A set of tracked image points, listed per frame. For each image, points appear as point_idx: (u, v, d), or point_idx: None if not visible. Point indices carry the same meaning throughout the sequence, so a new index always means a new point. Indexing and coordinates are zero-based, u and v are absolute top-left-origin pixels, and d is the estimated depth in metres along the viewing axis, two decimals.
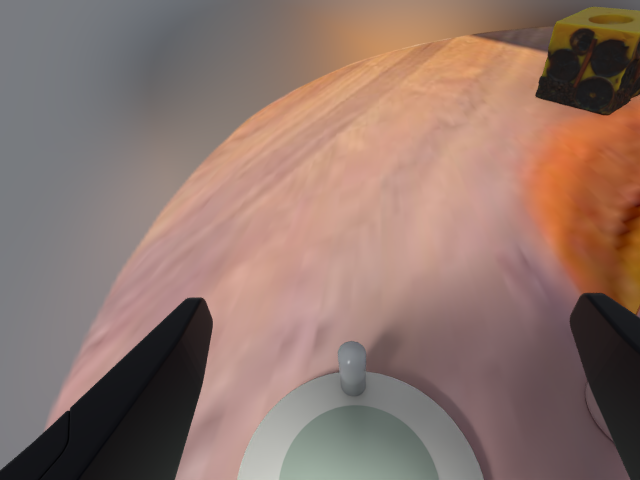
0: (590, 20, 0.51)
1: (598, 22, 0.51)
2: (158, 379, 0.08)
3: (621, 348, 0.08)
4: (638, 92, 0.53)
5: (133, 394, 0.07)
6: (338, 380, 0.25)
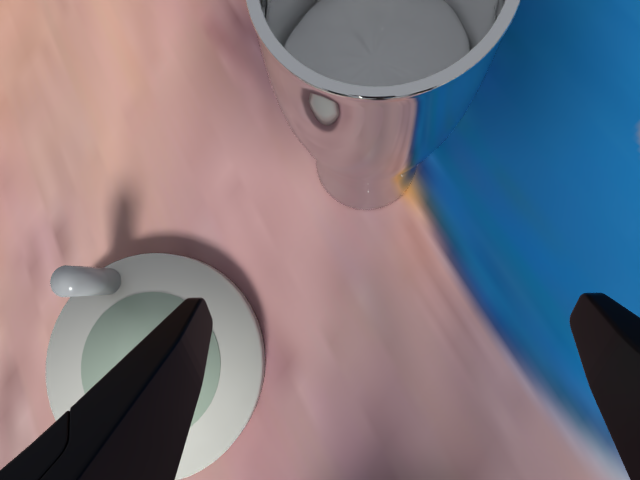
0: None
1: None
2: (158, 379, 0.08)
3: (621, 348, 0.08)
4: None
5: (133, 394, 0.07)
6: None
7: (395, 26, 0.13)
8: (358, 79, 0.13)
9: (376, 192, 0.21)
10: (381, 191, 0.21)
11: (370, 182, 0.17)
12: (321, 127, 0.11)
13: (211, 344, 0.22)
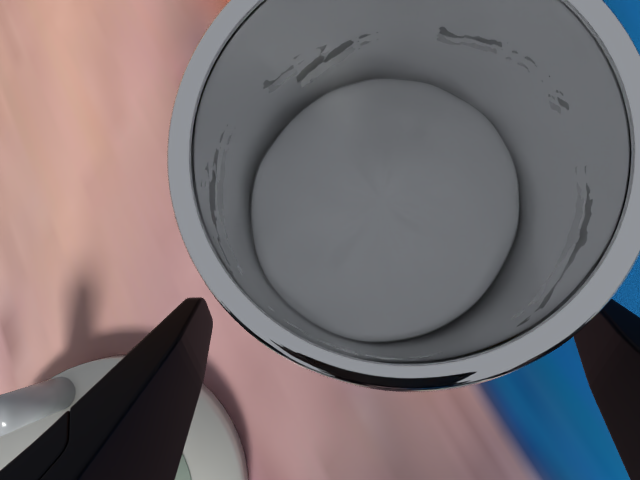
0: None
1: None
2: (158, 379, 0.08)
3: (621, 348, 0.08)
4: None
5: (133, 394, 0.07)
6: None
7: (412, 152, 0.09)
8: (360, 230, 0.09)
9: None
10: None
11: None
12: None
13: (183, 474, 0.18)
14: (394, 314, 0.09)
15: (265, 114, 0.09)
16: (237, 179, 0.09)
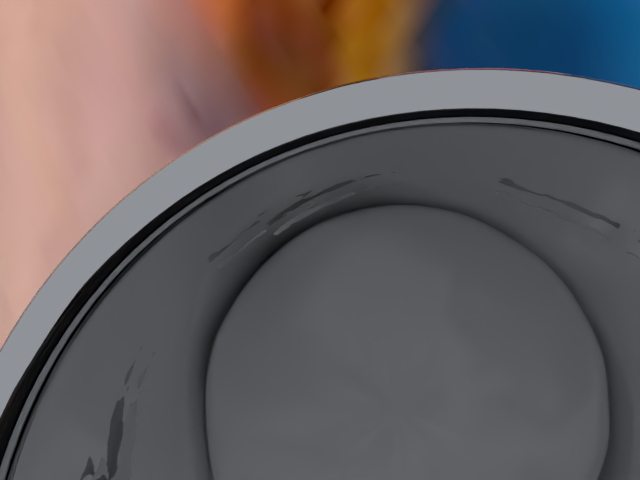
0: None
1: None
2: None
3: None
4: None
5: None
6: None
7: (446, 333, 0.06)
8: (366, 458, 0.06)
9: None
10: None
11: None
12: None
13: None
14: None
15: (219, 280, 0.06)
16: (175, 385, 0.06)
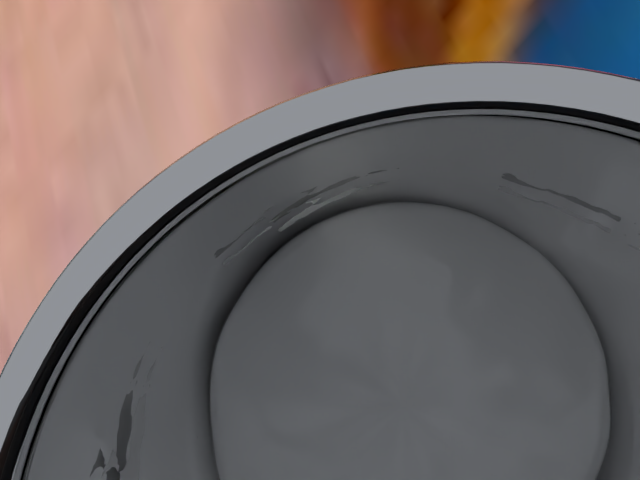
0: None
1: None
2: None
3: None
4: None
5: None
6: None
7: (448, 328, 0.06)
8: (370, 452, 0.06)
9: None
10: None
11: None
12: None
13: None
14: None
15: (225, 276, 0.06)
16: (181, 380, 0.06)
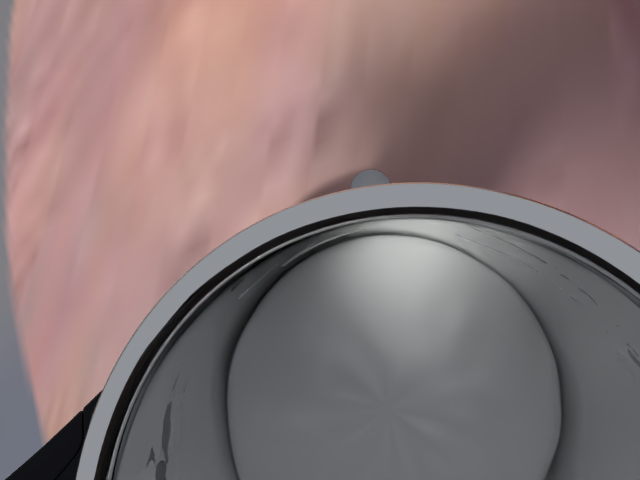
0: None
1: None
2: None
3: None
4: None
5: None
6: None
7: (425, 343, 0.07)
8: (362, 447, 0.07)
9: None
10: None
11: None
12: None
13: None
14: None
15: (238, 303, 0.07)
16: (205, 391, 0.07)
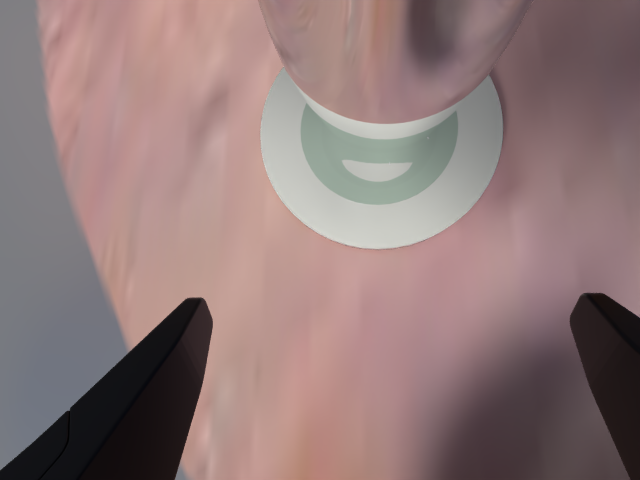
0: None
1: None
2: (158, 379, 0.08)
3: (621, 348, 0.08)
4: None
5: (133, 394, 0.07)
6: None
7: None
8: None
9: (398, 163, 0.18)
10: (404, 161, 0.18)
11: (397, 144, 0.14)
12: (343, 51, 0.08)
13: (450, 131, 0.21)
14: None
15: None
16: None
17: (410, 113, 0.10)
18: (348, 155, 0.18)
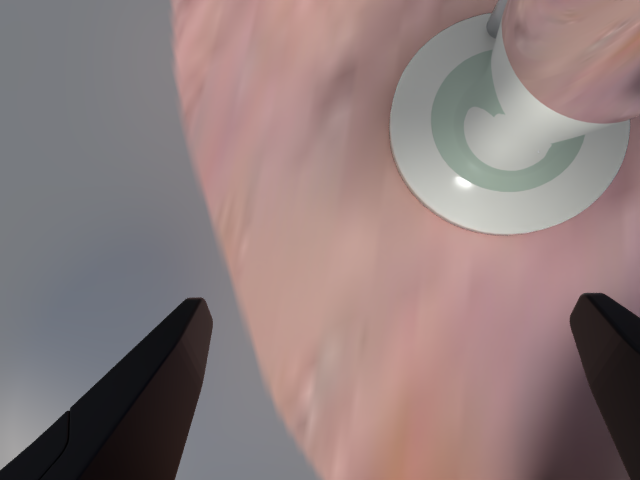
0: None
1: None
2: (158, 379, 0.08)
3: (621, 348, 0.08)
4: None
5: (133, 394, 0.07)
6: (483, 23, 0.23)
7: None
8: None
9: (545, 153, 0.19)
10: (550, 151, 0.19)
11: (581, 132, 0.15)
12: None
13: None
14: None
15: None
16: None
17: None
18: (499, 140, 0.19)
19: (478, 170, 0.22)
